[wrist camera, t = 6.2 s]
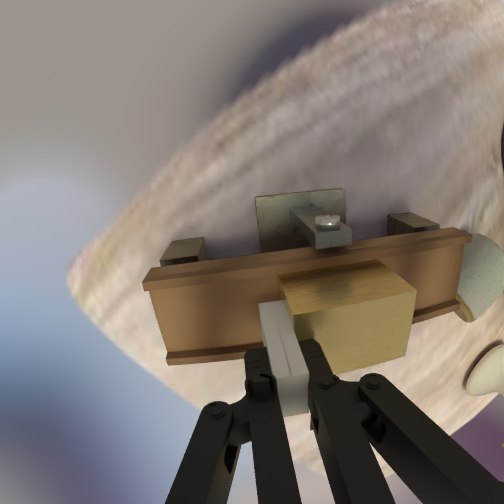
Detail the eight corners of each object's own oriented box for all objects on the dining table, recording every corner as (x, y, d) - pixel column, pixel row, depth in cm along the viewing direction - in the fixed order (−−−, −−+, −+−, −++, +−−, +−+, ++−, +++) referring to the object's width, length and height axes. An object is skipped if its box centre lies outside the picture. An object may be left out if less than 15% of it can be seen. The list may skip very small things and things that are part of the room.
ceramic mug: (423, 275, 30) (464, 306, 22) (464, 225, 28) (508, 245, 21) (452, 318, 32) (485, 348, 25) (487, 275, 31) (523, 299, 24)
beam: (453, 227, 20) (471, 235, 18) (444, 297, 22) (459, 309, 20) (151, 267, 19) (142, 282, 17) (172, 346, 21) (168, 365, 19)
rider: (377, 259, 19) (416, 290, 14) (373, 316, 20) (404, 355, 15) (277, 274, 18) (293, 315, 14) (282, 334, 20) (296, 382, 15)
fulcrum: (411, 184, 26) (471, 200, 17) (405, 290, 30) (451, 332, 21) (165, 209, 25) (134, 237, 17) (190, 324, 29) (178, 386, 21)
